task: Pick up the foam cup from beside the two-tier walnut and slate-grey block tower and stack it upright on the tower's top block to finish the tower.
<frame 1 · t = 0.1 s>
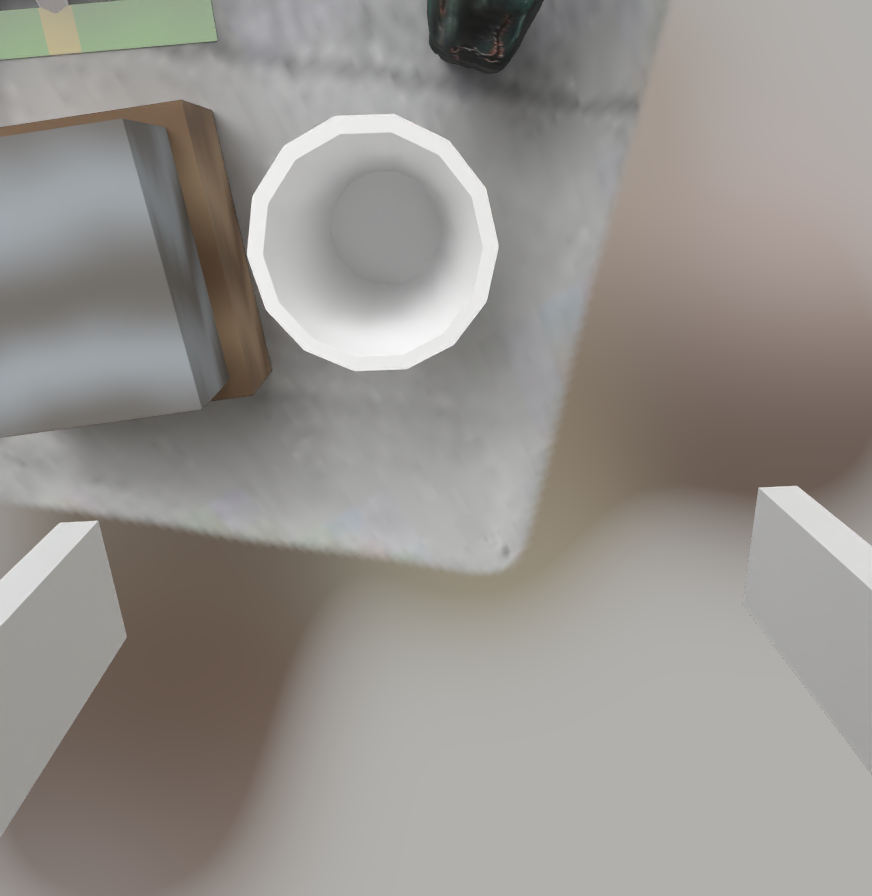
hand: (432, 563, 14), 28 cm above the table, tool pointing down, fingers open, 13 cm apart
foam cup: (386, 227, 38), on the table
block tower: (120, 267, 39), on the table
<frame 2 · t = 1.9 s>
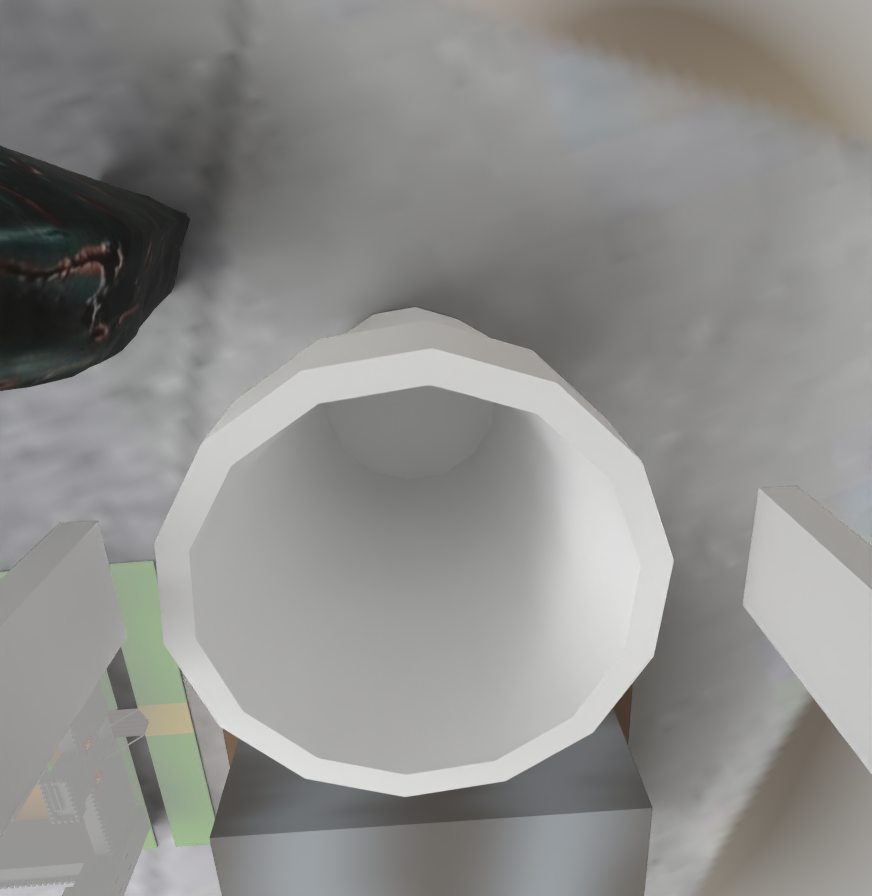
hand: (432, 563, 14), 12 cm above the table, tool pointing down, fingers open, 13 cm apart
foam cup: (410, 394, 25), on the table
castle model: (20, 715, 30), on the table
block tower: (430, 725, 30), on the table
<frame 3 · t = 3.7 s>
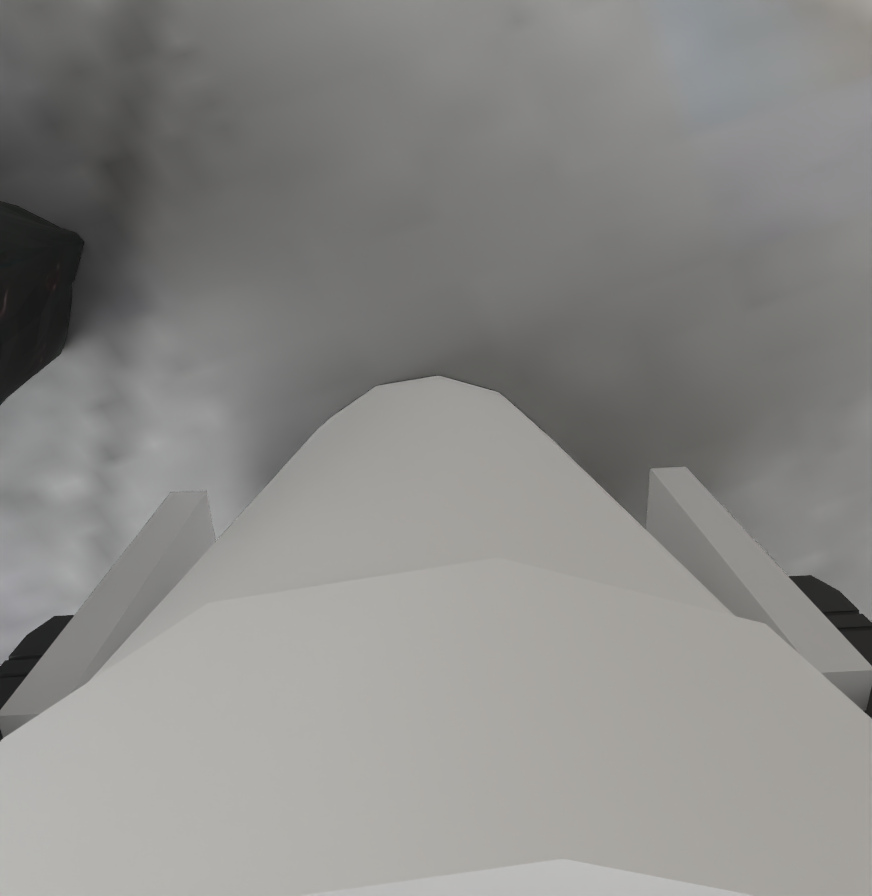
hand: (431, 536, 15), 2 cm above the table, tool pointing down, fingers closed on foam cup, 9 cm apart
foam cup: (430, 500, 17), on the table, touching gripper
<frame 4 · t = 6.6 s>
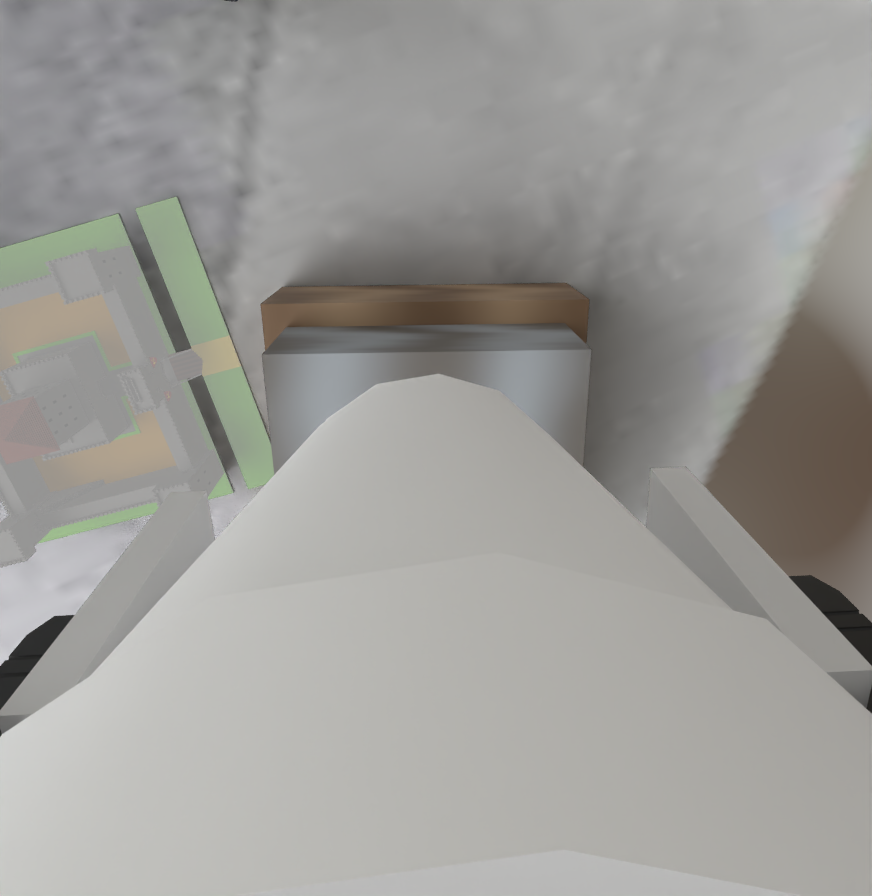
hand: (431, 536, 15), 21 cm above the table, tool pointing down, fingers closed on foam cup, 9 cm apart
foam cup: (430, 498, 17), point 20 cm above the table, touching gripper
castle model: (102, 382, 36), on the table
block tower: (426, 419, 37), on the table
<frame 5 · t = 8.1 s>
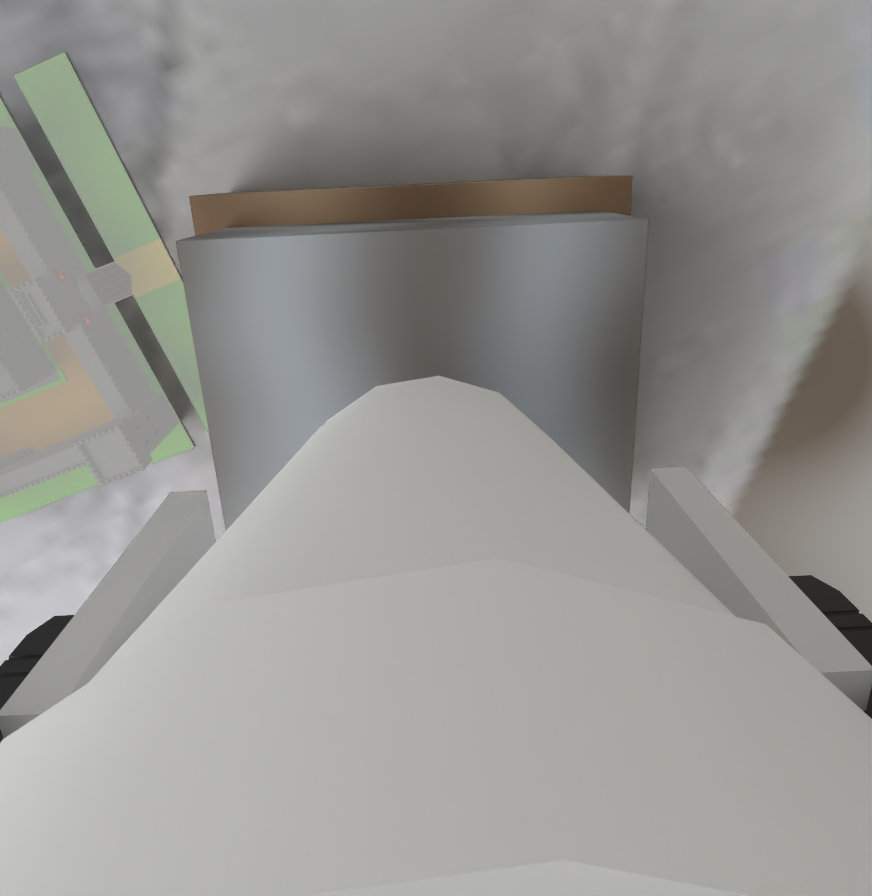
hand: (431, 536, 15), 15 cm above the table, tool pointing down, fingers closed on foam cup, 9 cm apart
foam cup: (430, 500, 17), point 13 cm above the table, touching gripper
castle model: (13, 322, 29), on the table
block tower: (421, 362, 29), on the table
when the fingers open (13 cm above the table, at t = 9.4 s): foam cup drops 1 cm, resting on block tower.
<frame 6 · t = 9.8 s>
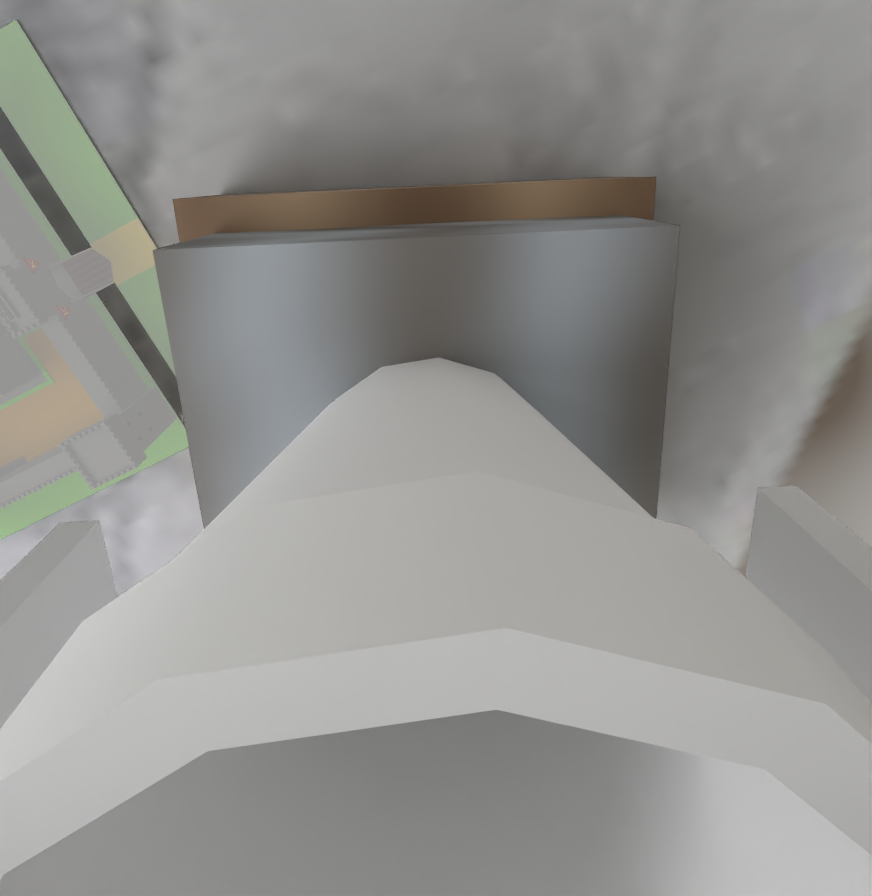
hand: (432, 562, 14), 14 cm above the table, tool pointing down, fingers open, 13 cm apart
foam cup: (431, 474, 18), point 10 cm above the table, touching block tower
block tower: (424, 376, 27), on the table
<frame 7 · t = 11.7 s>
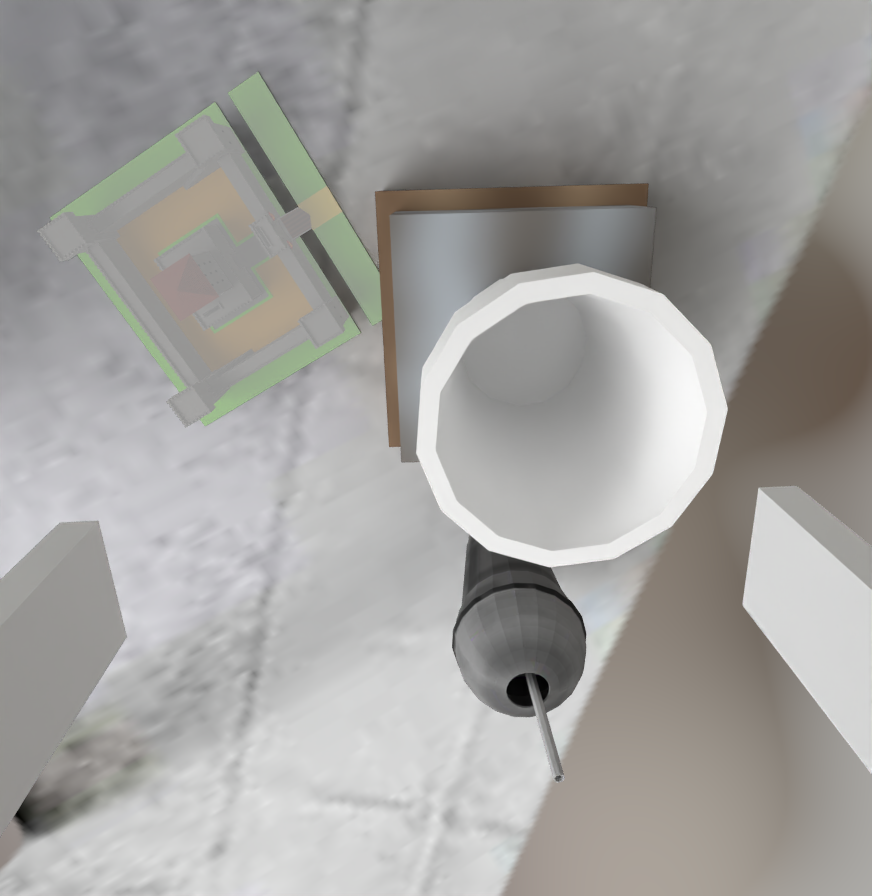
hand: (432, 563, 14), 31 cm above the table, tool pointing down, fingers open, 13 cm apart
beverage cup: (500, 538, 49), on the table
foam cup: (521, 341, 33), point 10 cm above the table, touching block tower
castle model: (232, 263, 42), on the table
block tower: (502, 309, 43), on the table
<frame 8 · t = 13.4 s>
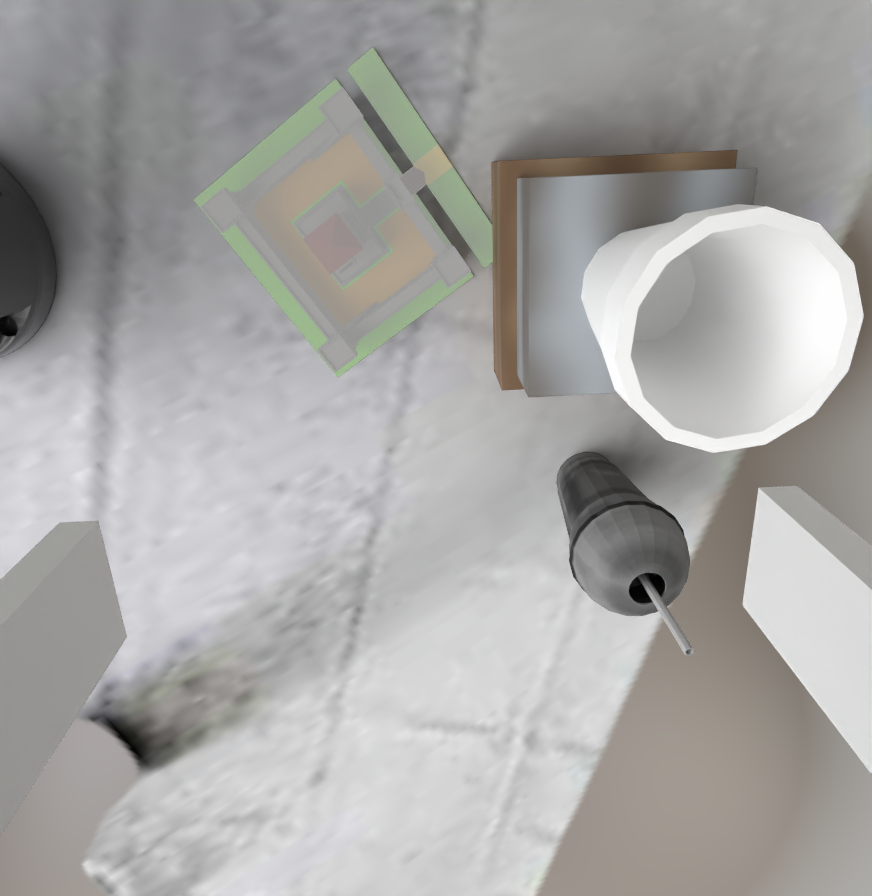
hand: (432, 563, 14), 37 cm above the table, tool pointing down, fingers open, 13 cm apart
beverage cup: (585, 477, 54), on the table
foam cup: (636, 287, 39), point 10 cm above the table, touching block tower
castle model: (354, 224, 47), on the table
block tower: (593, 267, 48), on the table
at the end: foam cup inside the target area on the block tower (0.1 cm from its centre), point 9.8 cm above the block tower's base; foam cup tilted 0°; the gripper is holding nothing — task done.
